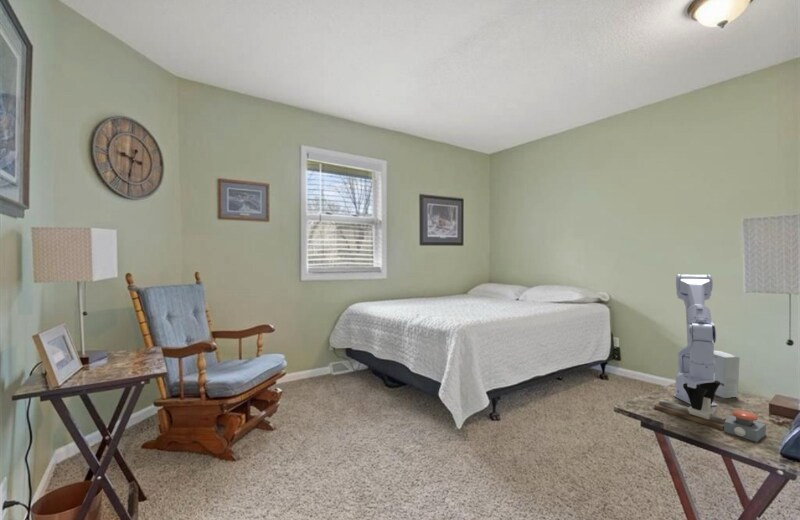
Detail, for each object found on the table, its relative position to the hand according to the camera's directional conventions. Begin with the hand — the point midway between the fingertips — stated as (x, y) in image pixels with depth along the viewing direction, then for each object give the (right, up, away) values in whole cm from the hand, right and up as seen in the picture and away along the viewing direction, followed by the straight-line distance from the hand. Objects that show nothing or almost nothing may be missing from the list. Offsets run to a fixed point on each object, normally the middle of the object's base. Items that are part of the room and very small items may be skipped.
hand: (702, 406), depth 114 cm
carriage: (0, -3, 0) cm, 3 cm away
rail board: (-1, -4, +3) cm, 5 cm away
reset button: (+5, -2, -9) cm, 10 cm away
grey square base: (+5, -4, -9) cm, 11 cm away
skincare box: (+23, -4, +19) cm, 30 cm away
